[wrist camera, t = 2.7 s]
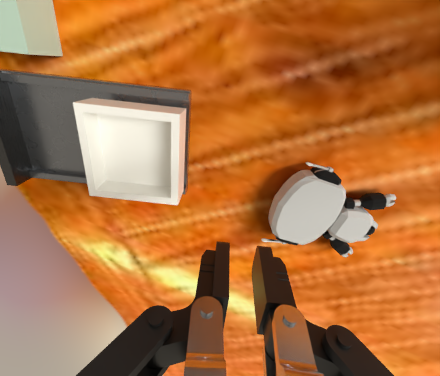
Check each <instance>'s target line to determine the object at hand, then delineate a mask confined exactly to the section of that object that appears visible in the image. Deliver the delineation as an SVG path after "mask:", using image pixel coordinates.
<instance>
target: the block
mask: <svg viewBox="0 0 440 376" xmlns="http://www.w3.org/2000/svg"><path fill="white" fill-rule="evenodd" d="M0 51H2V52H11V53H20V54H30V55H47V56H63V55H62V49H61V44H60V39H59V33H58V28H57V22H56V17H55V12H54V6H53V1H52V0H0Z"/></svg>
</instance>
